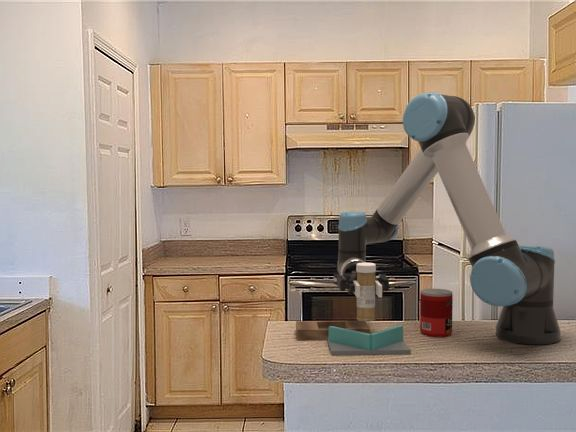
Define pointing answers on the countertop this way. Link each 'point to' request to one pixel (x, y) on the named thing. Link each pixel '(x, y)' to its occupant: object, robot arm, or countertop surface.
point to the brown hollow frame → (326, 328)
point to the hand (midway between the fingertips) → (369, 291)
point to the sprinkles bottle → (366, 291)
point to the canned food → (436, 312)
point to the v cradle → (367, 342)
